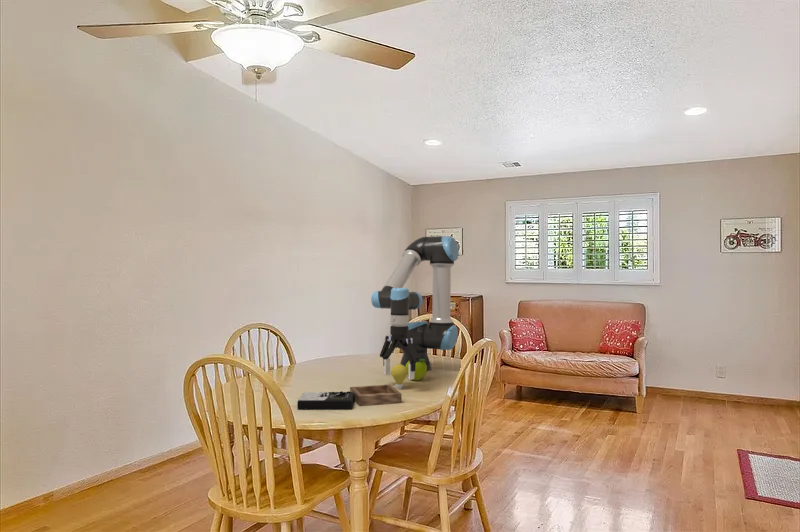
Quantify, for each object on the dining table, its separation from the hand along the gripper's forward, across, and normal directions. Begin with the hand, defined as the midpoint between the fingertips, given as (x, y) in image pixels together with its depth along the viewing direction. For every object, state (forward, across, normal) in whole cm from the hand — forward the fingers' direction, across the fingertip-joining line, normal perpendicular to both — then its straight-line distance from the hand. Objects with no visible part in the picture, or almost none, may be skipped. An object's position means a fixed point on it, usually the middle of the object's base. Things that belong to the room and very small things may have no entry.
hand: (398, 377), depth 222 cm
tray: (+5, +5, -19) cm, 20 cm away
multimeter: (+6, -2, -37) cm, 37 cm away
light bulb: (+5, 0, 0) cm, 5 cm away
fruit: (+5, -6, +18) cm, 19 cm away
